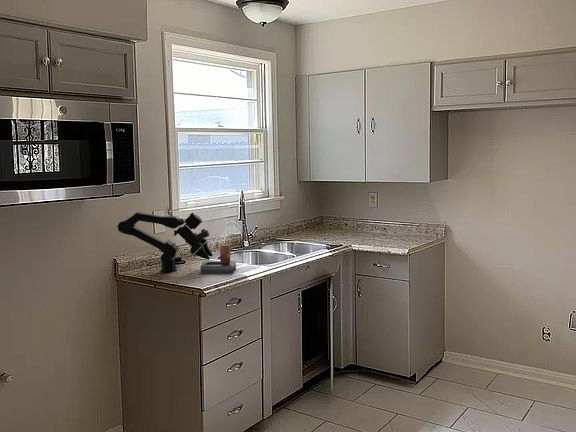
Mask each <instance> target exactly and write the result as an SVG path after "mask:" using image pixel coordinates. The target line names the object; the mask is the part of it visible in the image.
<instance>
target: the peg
mask: <svg viewBox="0 0 576 432" xmlns="http://www.w3.org/2000/svg"><path fill="white" fill-rule="evenodd" d="M219 258H220V259H219V261H220V263H223V264H228V263H230V261H231V244H220V245H219Z"/></svg>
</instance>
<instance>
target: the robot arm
mask: <svg viewBox="0 0 576 432" xmlns="http://www.w3.org/2000/svg"><path fill="white" fill-rule="evenodd" d="M138 222H145V223H152V224H156V225H157V224H158V225H163V226H165V227H166V228H169V229H173V236H174V237H176V236H177V235H179V237H181V238H182V239H183V240H184V241H185V243H186V244H188V246H190V247H191V248H190V249H189V252H190V253H191V255H194V256H196V257H199V258H202V259H205V260H206V261H210V259H211V257H213V253H212V251H211V250H210V248H209V246H208V243H209V241H208V240H207V238H208V237H209V236H210V233H209V231H208V229H205V228H202V229H200V232H199V233H197V232H193V231H192V230H196V229H197V228H198V227H199V226H200V225H201V224H202V223H203V219H202V218H201V217H200V216H199V215H197V214H195V213H194V212H191V213H190V214H189V215H188V216H187V218H186V219H185V218H181V217H180V216H178V215H169V216H168V215H164V216H162V215H156V214H149V213H143V212H139V211H138V212H135V213H134V214H133V215H132V216H130V217H129V218H127V219H125V220H122V221H120V222H119V223H118V224H117V230H118V232H120V233H121V234H125V235H128V236H133V237H135V238H137V239H139V240H140V241H143V242H145V243H147V244H149V245H150V246H152V247H155V248H157V249H158V250H159V251H160V252H161V253H162V254H161V256H159V257H160V261H161V262H160V263H161V265H160V266H161V268H160V270H159V272H162V273H166V274H168V273H173V272H177V271H178V269H177V265H176V264H177V262H176V259H175V258H176V255H178V253H179V249H180V248H179V247H178V245H177V244H176V242H172V241H171V240H170V239H168V240H166V241H163V240H161V239H159V238H158V237H155V236H154V235H152V234H150V233H148V232H147V231H144V230H142V229H140V228H138V226H137V225H136V224H137V223H138ZM182 225H183V226H182ZM174 229H175V230H174Z"/></svg>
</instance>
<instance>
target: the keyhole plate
mask: <svg viewBox="0 0 576 432" xmlns="http://www.w3.org/2000/svg"><path fill="white" fill-rule="evenodd" d="M199 267H200V274H202V275H203V274H216V275H217V274H227V275H228V274H234V270H235V269H237V261H236V260H230V263H228V264H223V263H220V260H204V261H203V262H202V264H201V265H200V266H199Z"/></svg>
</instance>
